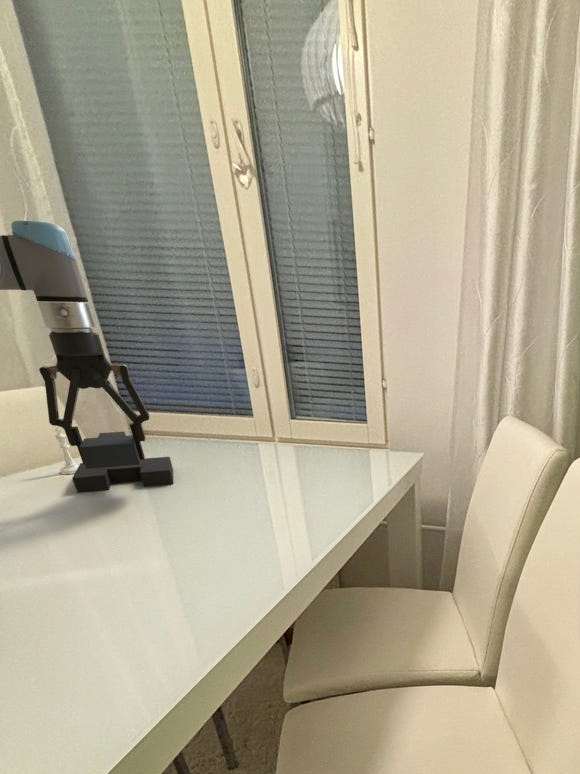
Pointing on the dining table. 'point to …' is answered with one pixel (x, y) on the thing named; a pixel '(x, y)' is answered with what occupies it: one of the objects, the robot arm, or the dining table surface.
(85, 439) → the pad
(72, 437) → the robot arm
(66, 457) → the chess piece
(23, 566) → the dining table surface
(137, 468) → the notch mat
